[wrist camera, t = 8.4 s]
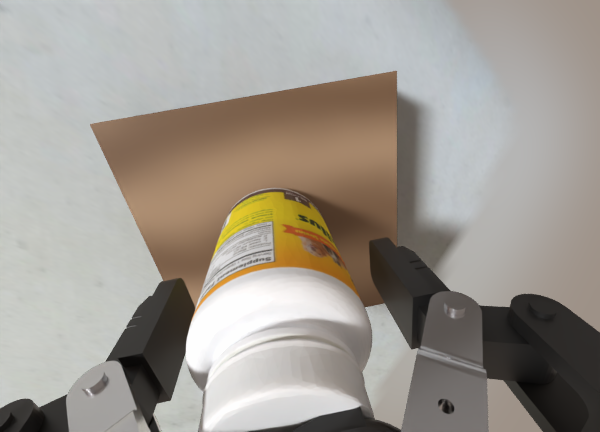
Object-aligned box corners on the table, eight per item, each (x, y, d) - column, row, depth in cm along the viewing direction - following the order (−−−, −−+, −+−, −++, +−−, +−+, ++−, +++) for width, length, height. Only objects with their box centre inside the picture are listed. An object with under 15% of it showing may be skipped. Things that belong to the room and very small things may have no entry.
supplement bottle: (337, 248, 16) (434, 459, 7) (253, 285, 16) (239, 532, 7) (299, 165, 14) (371, 316, 4) (203, 210, 14) (85, 435, 5)
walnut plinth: (130, 117, 15) (90, 124, 12) (367, 76, 16) (396, 71, 12) (205, 301, 21) (192, 343, 18) (375, 266, 22) (397, 300, 18)
